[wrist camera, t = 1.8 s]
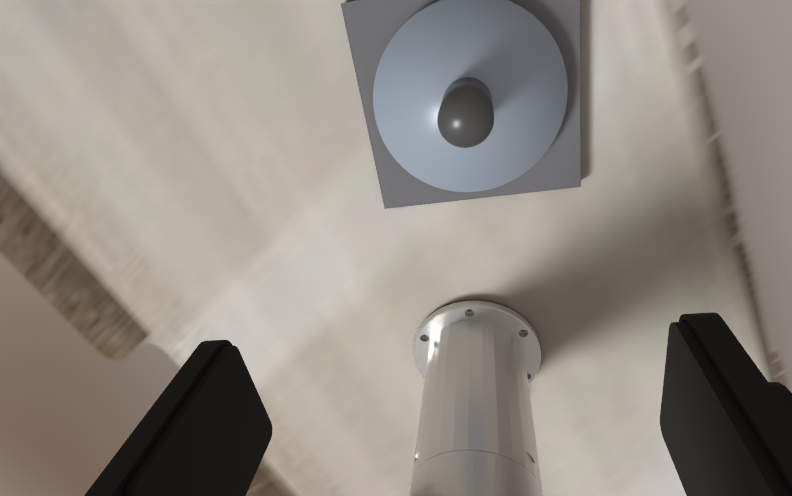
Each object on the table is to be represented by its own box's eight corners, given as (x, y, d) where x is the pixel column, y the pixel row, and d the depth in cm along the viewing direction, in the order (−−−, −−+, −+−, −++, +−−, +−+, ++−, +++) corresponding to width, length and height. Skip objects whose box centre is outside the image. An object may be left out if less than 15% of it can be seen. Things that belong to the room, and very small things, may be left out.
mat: (578, 182, 38) (580, 186, 37) (386, 203, 42) (384, 208, 41) (576, -47, 31) (579, -48, 30) (344, 3, 34) (340, 3, 33)
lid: (567, 176, 37) (581, 207, 32) (394, 196, 40) (381, 228, 35) (563, -27, 31) (580, -29, 25) (357, 16, 34) (335, 22, 28)
